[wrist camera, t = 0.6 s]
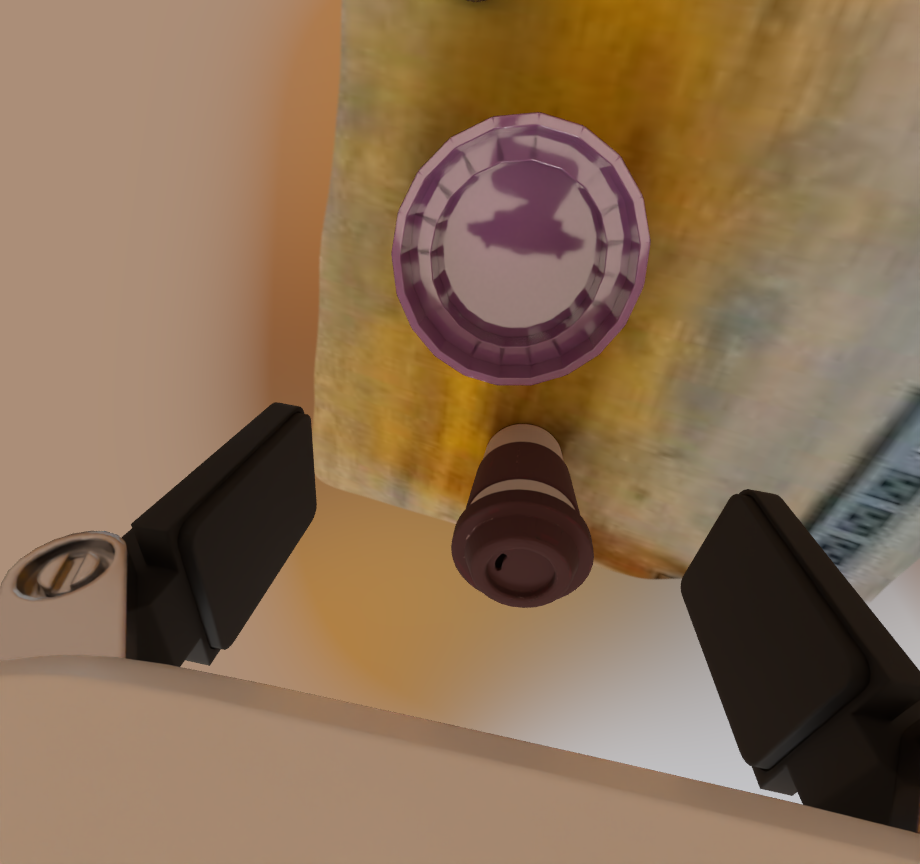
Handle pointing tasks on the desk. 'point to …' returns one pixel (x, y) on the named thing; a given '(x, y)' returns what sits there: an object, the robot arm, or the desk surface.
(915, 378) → the desk surface
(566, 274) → the bowl
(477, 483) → the coffee cup
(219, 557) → the robot arm
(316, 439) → the desk surface
